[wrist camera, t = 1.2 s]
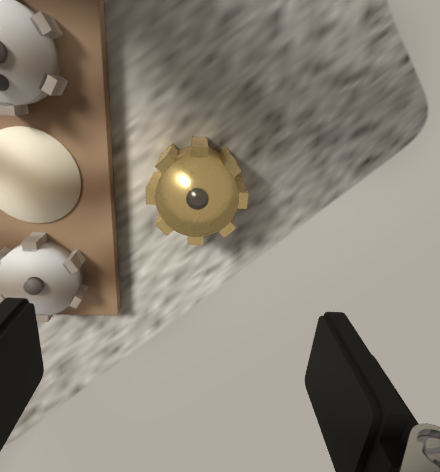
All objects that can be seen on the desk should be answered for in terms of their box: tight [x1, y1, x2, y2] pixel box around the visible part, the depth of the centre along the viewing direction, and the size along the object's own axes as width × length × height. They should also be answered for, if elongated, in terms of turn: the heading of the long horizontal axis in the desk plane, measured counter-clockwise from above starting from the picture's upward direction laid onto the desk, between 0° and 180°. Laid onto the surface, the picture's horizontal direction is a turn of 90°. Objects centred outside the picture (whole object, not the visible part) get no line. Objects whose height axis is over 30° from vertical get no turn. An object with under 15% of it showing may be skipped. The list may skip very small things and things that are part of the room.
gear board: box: [0, 0, 121, 322], centre depth 25 cm, size 26×12×6 cm, turn 176°
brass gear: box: [146, 137, 249, 245], centre depth 26 cm, size 7×7×5 cm
